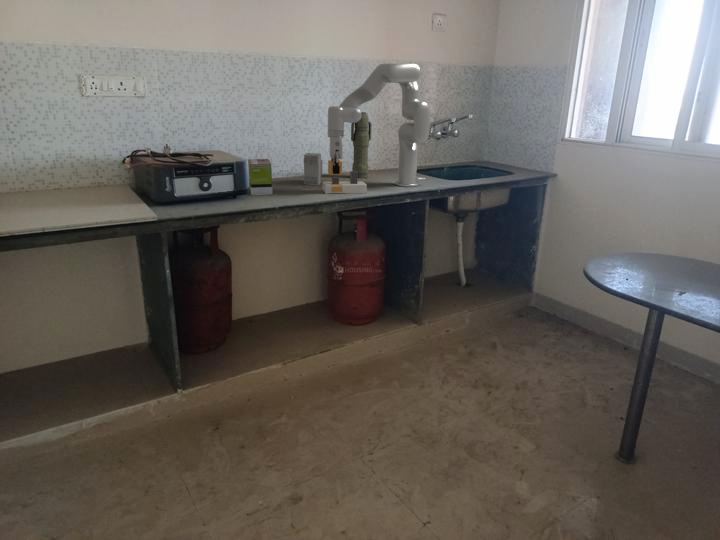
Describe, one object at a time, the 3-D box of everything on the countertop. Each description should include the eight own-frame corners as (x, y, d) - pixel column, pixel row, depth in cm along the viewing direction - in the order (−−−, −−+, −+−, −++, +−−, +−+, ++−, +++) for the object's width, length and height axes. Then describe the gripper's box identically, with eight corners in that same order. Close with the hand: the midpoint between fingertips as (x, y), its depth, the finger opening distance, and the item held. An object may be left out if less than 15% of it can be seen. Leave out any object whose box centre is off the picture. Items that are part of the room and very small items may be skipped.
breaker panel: (362, 189, 262) (362, 180, 261) (366, 193, 253) (367, 184, 251) (322, 189, 258) (322, 181, 257) (325, 194, 249) (325, 184, 248)
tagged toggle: (337, 190, 257) (337, 176, 254) (338, 192, 254) (338, 177, 251) (331, 191, 256) (331, 176, 254) (332, 192, 253) (332, 177, 251)
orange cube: (339, 172, 255) (340, 160, 253) (341, 174, 250) (342, 162, 248) (328, 172, 254) (328, 160, 252) (329, 174, 249) (330, 162, 247)
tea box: (249, 189, 255) (247, 158, 250) (270, 188, 258) (269, 158, 253) (251, 195, 242) (249, 163, 237) (273, 195, 244) (272, 162, 239)
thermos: (373, 177, 295) (375, 112, 283) (356, 179, 288) (357, 113, 276) (364, 175, 302) (365, 111, 290) (347, 176, 295) (348, 112, 283)
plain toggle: (355, 185, 258) (356, 171, 255) (357, 186, 255) (357, 172, 252) (349, 185, 257) (350, 171, 255) (351, 186, 254) (351, 172, 252)
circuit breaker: (322, 180, 283) (322, 152, 278) (318, 185, 269) (318, 155, 264) (309, 179, 283) (308, 151, 278) (303, 184, 270) (303, 155, 265)
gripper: (346, 135, 239) (345, 175, 245) (340, 132, 254) (339, 170, 260) (330, 135, 237) (329, 175, 243) (325, 132, 253) (324, 169, 259)
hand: (335, 172), depth 252 cm, fingers closed on orange cube, 5 cm apart
